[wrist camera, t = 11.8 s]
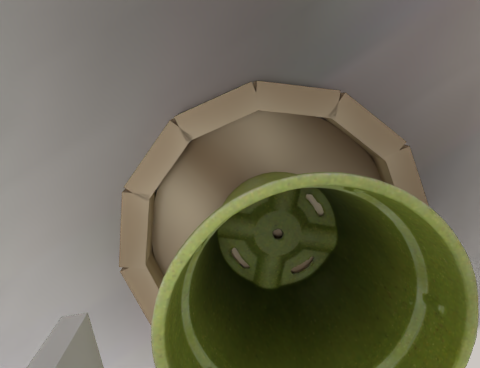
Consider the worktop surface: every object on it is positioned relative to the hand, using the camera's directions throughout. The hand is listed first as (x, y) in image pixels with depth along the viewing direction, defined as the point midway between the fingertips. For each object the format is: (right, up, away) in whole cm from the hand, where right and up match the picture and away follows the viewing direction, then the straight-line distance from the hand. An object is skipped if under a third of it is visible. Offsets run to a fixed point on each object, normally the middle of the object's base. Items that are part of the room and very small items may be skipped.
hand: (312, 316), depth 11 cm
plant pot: (0, +2, +8) cm, 8 cm away
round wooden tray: (-1, +2, +8) cm, 9 cm away
